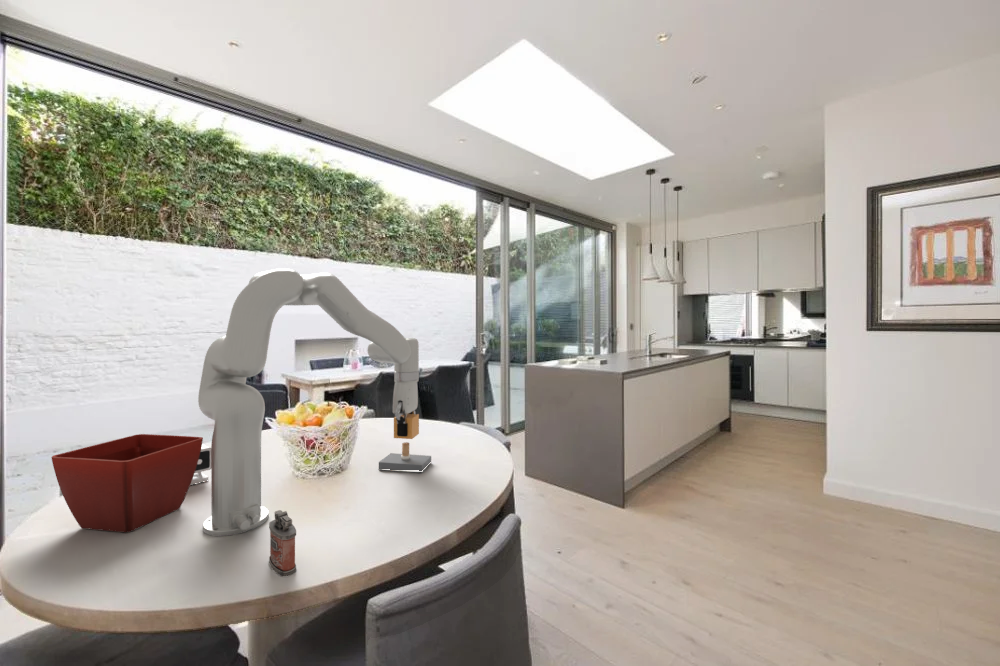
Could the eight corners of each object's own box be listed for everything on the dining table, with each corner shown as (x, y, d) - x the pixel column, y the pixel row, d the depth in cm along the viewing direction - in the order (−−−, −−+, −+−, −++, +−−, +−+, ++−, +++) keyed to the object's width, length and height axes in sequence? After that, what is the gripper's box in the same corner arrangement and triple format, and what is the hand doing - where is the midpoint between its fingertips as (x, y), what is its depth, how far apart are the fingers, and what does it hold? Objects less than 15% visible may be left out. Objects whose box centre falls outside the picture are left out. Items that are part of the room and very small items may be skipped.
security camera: (185, 489, 112) (185, 452, 112) (177, 482, 116) (176, 447, 116) (212, 482, 117) (212, 447, 117) (203, 476, 121) (203, 442, 121)
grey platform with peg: (431, 463, 135) (431, 440, 134) (421, 473, 126) (421, 448, 126) (390, 460, 137) (391, 438, 137) (378, 470, 128) (378, 446, 128)
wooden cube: (418, 433, 134) (418, 414, 134) (412, 439, 128) (412, 418, 128) (401, 432, 135) (401, 413, 135) (393, 438, 129) (393, 417, 129)
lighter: (265, 561, 79) (265, 509, 79) (283, 554, 81) (284, 504, 81) (280, 579, 73) (280, 523, 73) (300, 571, 76) (300, 517, 76)
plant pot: (139, 497, 106) (139, 432, 106) (205, 503, 103) (205, 436, 103) (48, 535, 87) (47, 456, 87) (126, 543, 84) (126, 461, 84)
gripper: (405, 373, 140) (405, 425, 140) (383, 380, 123) (383, 440, 123) (426, 373, 139) (426, 426, 139) (407, 381, 122) (407, 441, 122)
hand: (406, 432), depth 131 cm, fingers closed on wooden cube, 5 cm apart
